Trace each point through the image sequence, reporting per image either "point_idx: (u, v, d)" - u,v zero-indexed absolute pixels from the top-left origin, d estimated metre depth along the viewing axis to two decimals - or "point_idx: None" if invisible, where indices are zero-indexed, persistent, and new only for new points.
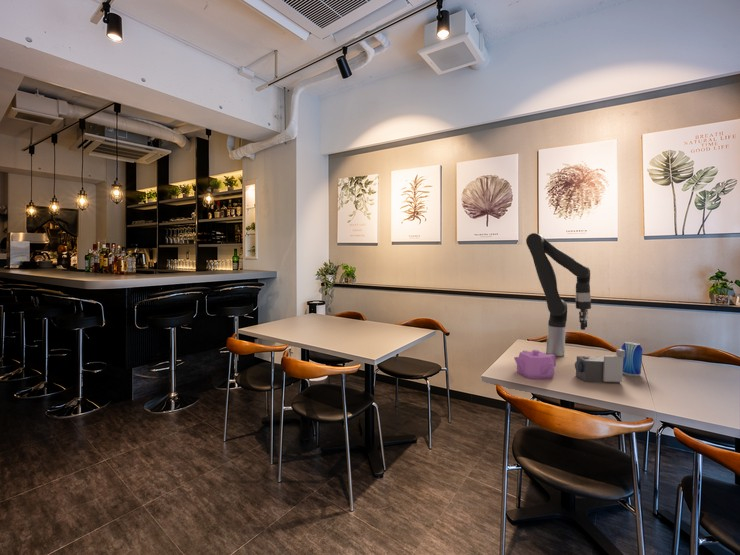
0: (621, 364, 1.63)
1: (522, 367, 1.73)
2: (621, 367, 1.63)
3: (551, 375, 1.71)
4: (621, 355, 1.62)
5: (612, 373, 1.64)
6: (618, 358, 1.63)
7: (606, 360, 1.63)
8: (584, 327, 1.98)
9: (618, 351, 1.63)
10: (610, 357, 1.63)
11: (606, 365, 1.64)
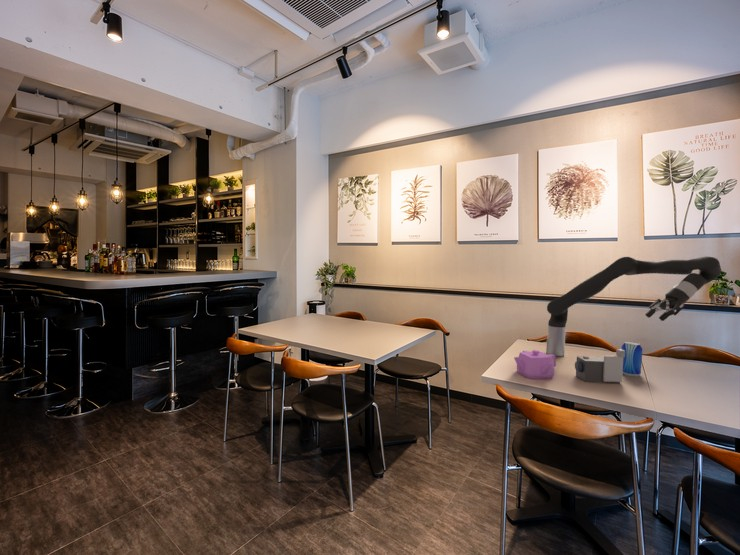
0: (621, 364, 1.63)
1: (522, 367, 1.73)
2: (621, 367, 1.63)
3: (551, 375, 1.71)
4: (621, 355, 1.62)
5: (612, 373, 1.64)
6: (618, 358, 1.63)
7: (606, 360, 1.63)
8: (664, 318, 1.57)
9: (618, 351, 1.63)
10: (610, 357, 1.63)
11: (606, 365, 1.64)
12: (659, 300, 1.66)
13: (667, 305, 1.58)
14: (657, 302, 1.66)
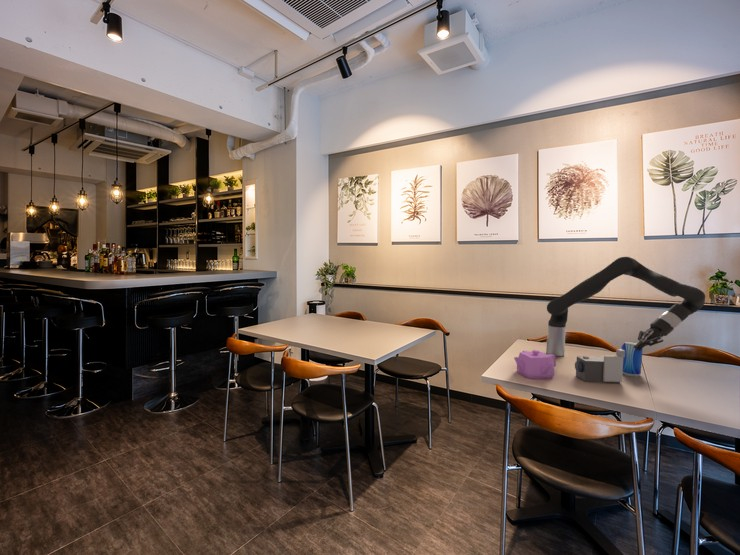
0: (621, 364, 1.63)
1: (522, 367, 1.73)
2: (621, 367, 1.63)
3: (551, 375, 1.71)
4: (621, 355, 1.62)
5: (612, 373, 1.64)
6: (618, 358, 1.63)
7: (606, 360, 1.63)
8: (640, 348, 1.62)
9: (618, 351, 1.63)
10: (610, 357, 1.63)
11: (606, 365, 1.64)
12: (642, 332, 1.67)
13: (648, 335, 1.61)
14: (642, 334, 1.66)
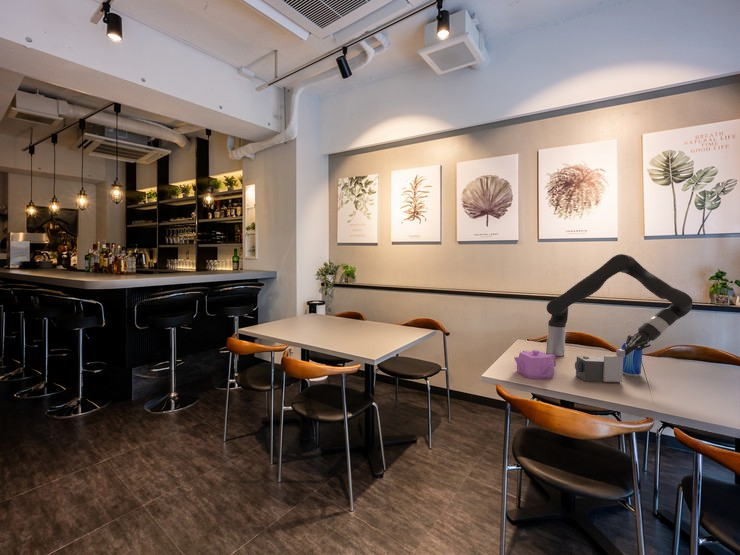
0: (621, 364, 1.63)
1: (522, 367, 1.73)
2: (621, 367, 1.63)
3: (551, 375, 1.71)
4: (621, 355, 1.62)
5: (612, 373, 1.64)
6: (618, 358, 1.63)
7: (606, 360, 1.63)
8: None
9: (618, 351, 1.63)
10: (610, 357, 1.63)
11: (606, 365, 1.64)
12: (630, 336, 1.67)
13: (635, 340, 1.62)
14: (630, 338, 1.67)
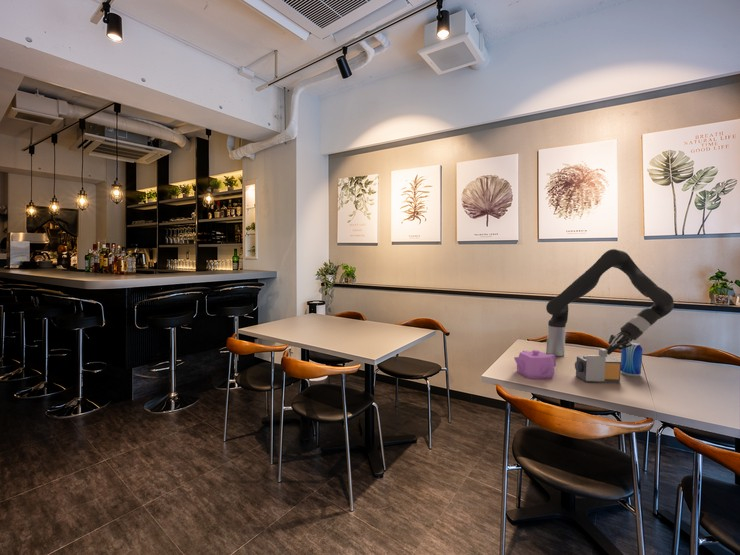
0: (603, 363, 1.64)
1: (522, 367, 1.73)
2: (603, 366, 1.64)
3: (551, 375, 1.71)
4: (603, 355, 1.62)
5: (594, 372, 1.64)
6: (600, 358, 1.64)
7: (588, 359, 1.64)
8: (610, 352, 1.63)
9: (600, 351, 1.64)
10: (592, 357, 1.64)
11: (588, 364, 1.64)
12: (613, 336, 1.68)
13: (617, 339, 1.62)
14: (613, 337, 1.67)
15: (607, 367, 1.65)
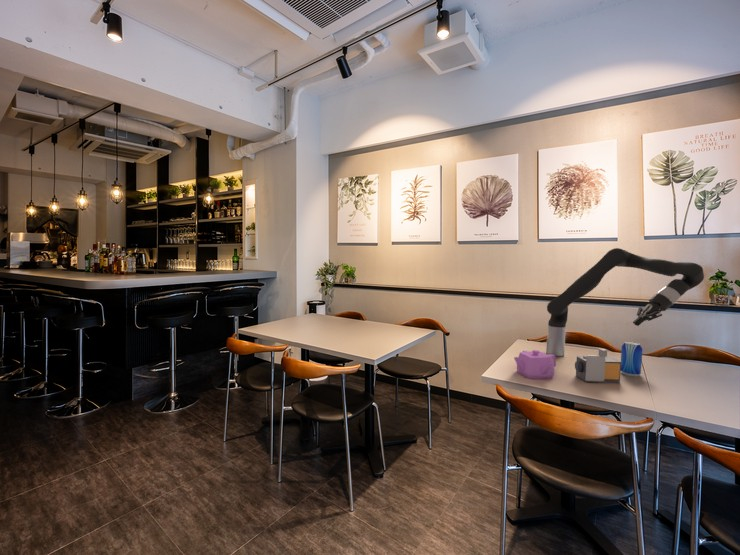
0: (603, 363, 1.64)
1: (522, 367, 1.73)
2: (603, 366, 1.64)
3: (551, 375, 1.71)
4: (603, 355, 1.62)
5: (594, 372, 1.64)
6: (600, 358, 1.64)
7: (588, 359, 1.64)
8: (639, 323, 1.63)
9: (600, 351, 1.64)
10: (592, 356, 1.64)
11: (588, 364, 1.64)
12: (641, 308, 1.68)
13: (647, 310, 1.62)
14: (641, 309, 1.67)
15: (607, 367, 1.65)
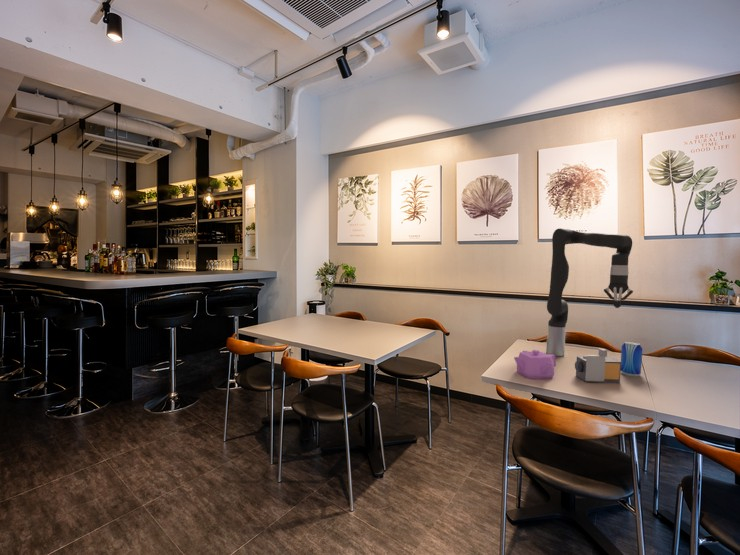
0: (603, 363, 1.64)
1: (522, 367, 1.73)
2: (603, 366, 1.64)
3: (551, 375, 1.71)
4: (603, 355, 1.62)
5: (594, 372, 1.64)
6: (600, 358, 1.64)
7: (588, 359, 1.64)
8: None
9: (600, 351, 1.64)
10: (592, 356, 1.64)
11: (588, 364, 1.64)
12: (606, 289, 1.83)
13: (620, 293, 1.78)
14: (608, 291, 1.82)
15: (607, 367, 1.65)
